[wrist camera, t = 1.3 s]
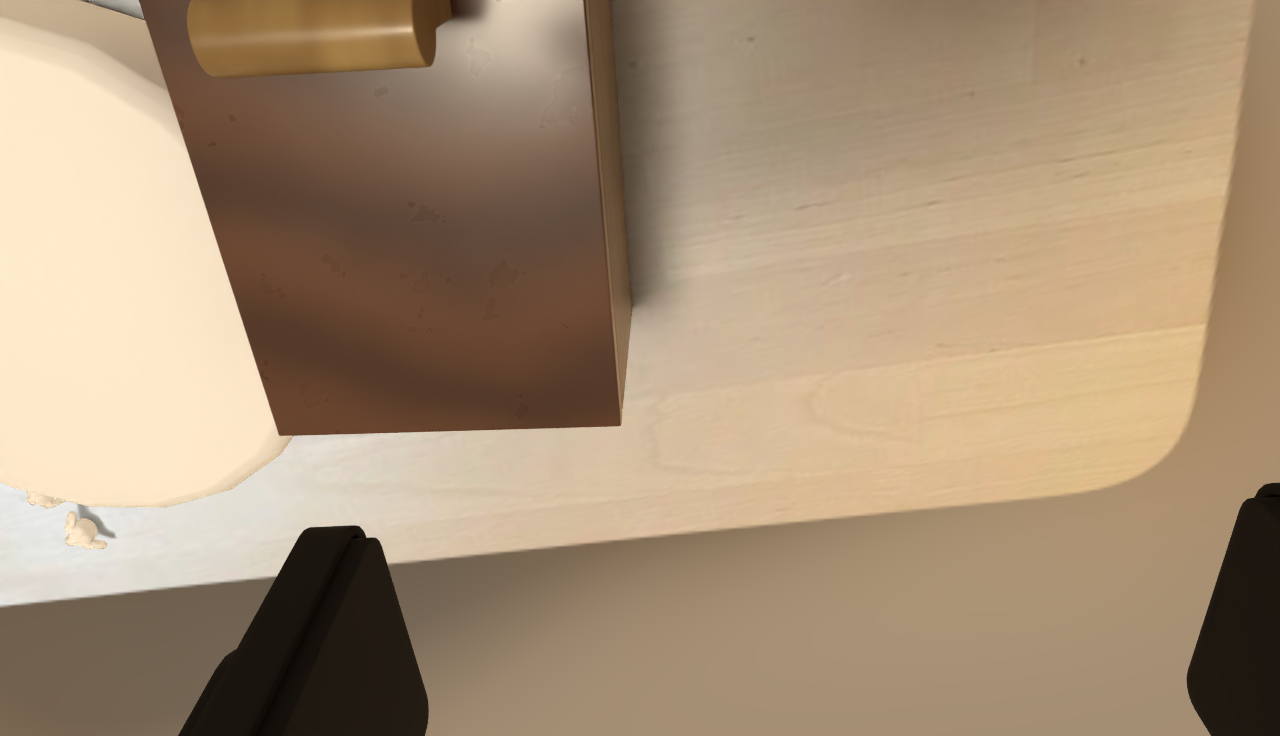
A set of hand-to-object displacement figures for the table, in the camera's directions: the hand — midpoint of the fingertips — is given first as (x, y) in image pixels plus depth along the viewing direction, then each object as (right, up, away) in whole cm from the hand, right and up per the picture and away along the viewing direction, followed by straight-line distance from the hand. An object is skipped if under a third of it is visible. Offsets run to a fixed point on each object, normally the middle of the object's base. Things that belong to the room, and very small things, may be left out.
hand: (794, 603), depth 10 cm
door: (-9, +8, +16) cm, 20 cm away
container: (-23, +7, +26) cm, 36 cm away
